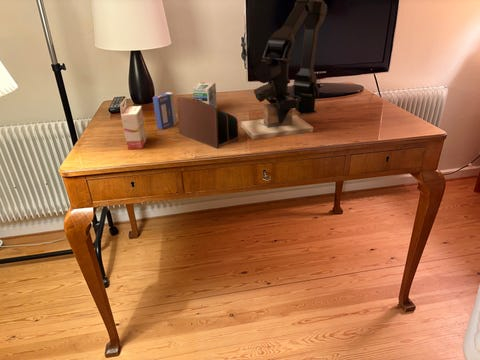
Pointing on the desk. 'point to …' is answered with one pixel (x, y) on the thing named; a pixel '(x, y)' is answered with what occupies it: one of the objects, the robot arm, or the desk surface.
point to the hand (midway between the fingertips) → (278, 121)
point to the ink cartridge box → (133, 125)
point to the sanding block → (275, 116)
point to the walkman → (165, 110)
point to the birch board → (275, 128)
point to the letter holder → (206, 123)
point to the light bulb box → (205, 93)
